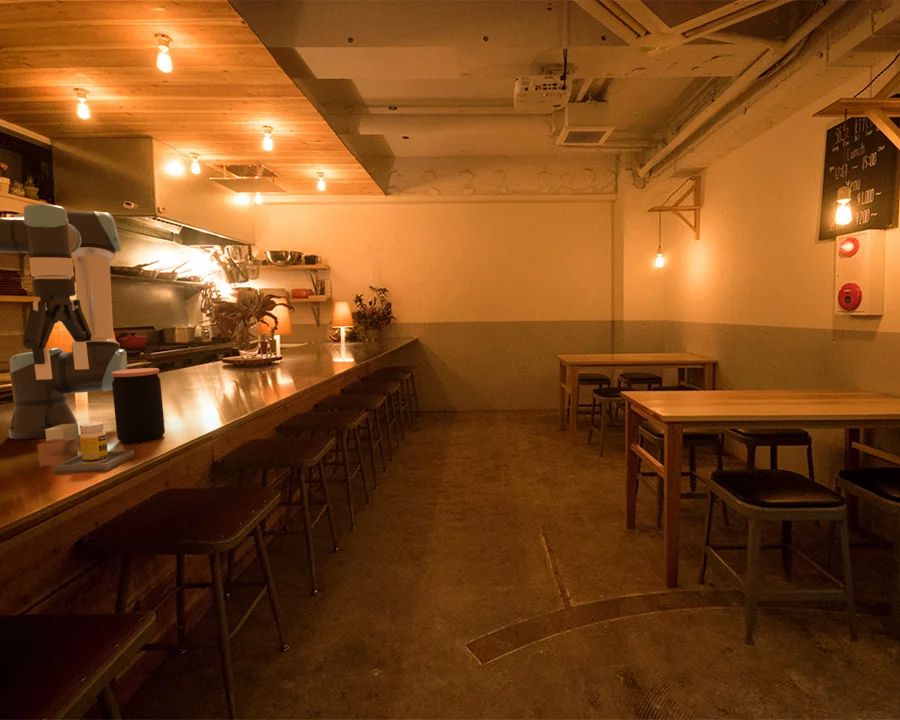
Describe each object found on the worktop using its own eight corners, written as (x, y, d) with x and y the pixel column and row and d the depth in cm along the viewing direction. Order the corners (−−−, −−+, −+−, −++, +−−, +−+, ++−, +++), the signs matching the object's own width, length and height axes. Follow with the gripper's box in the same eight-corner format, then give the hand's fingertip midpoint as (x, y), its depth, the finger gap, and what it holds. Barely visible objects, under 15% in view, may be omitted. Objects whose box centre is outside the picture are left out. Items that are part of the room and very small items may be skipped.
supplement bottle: (103, 463, 113) (100, 425, 112) (78, 466, 111) (74, 427, 111) (111, 457, 117) (108, 420, 116) (87, 459, 116) (83, 422, 115)
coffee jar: (174, 434, 141) (168, 367, 139) (147, 444, 130) (140, 373, 129) (136, 434, 142) (130, 368, 140) (107, 444, 131) (100, 373, 130)
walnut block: (55, 460, 119) (52, 439, 118) (78, 459, 119) (76, 437, 119) (39, 467, 114) (37, 444, 113) (64, 466, 114) (61, 443, 114)
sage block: (63, 443, 135) (61, 424, 134) (79, 442, 135) (77, 423, 134) (47, 449, 129) (45, 429, 128) (64, 449, 129) (62, 429, 129)
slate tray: (85, 458, 119) (84, 452, 119) (134, 456, 120) (133, 450, 120) (54, 473, 109) (53, 466, 109) (107, 470, 110) (107, 463, 109)
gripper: (69, 279, 127) (79, 366, 130) (-9, 277, 102) (5, 384, 105) (102, 278, 128) (111, 365, 131) (33, 277, 103) (46, 383, 106)
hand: (64, 374), depth 118 cm, fingers open, 13 cm apart
